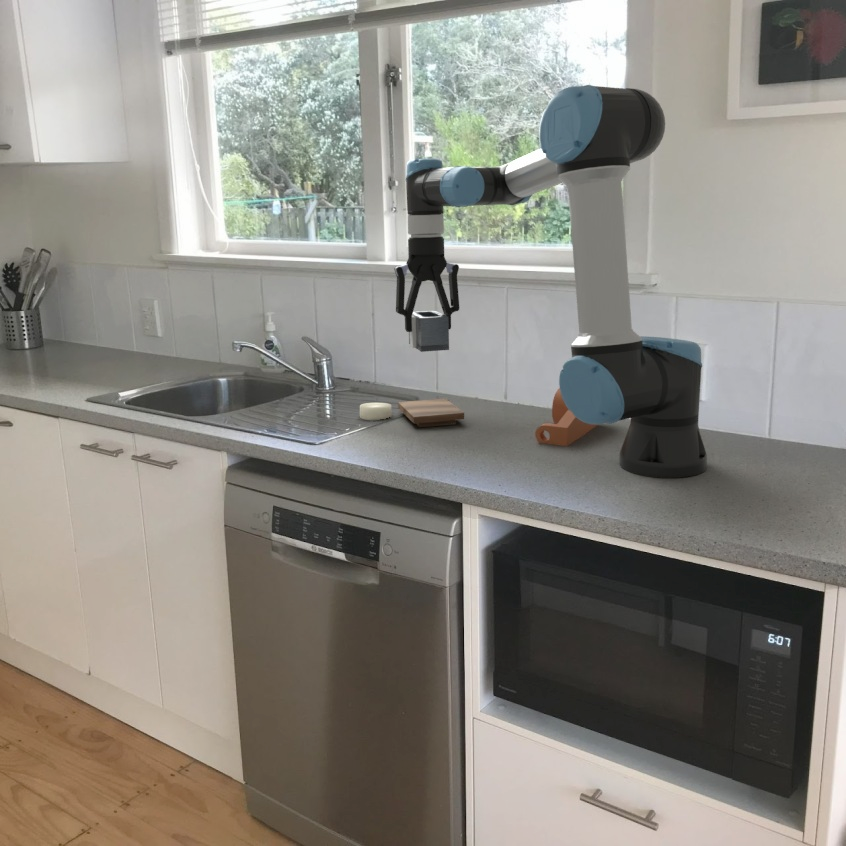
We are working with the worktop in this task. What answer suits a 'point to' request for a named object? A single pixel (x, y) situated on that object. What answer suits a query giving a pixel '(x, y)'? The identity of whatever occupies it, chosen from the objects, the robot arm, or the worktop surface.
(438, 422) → the stand
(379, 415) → the cream round puck
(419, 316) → the housing
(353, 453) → the worktop surface
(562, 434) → the crank
